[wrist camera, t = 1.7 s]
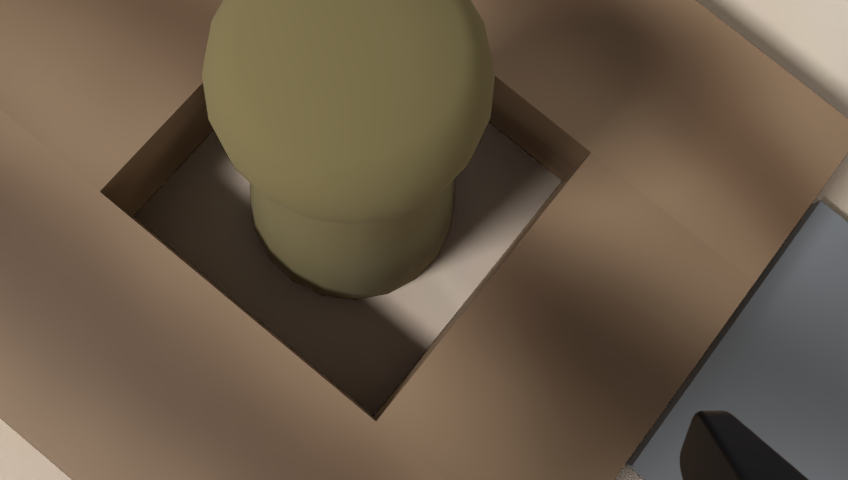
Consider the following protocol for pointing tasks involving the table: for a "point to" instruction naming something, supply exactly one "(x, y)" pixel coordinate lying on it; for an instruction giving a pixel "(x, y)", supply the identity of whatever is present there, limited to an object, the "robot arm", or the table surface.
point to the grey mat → (776, 361)
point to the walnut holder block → (477, 318)
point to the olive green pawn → (349, 129)
